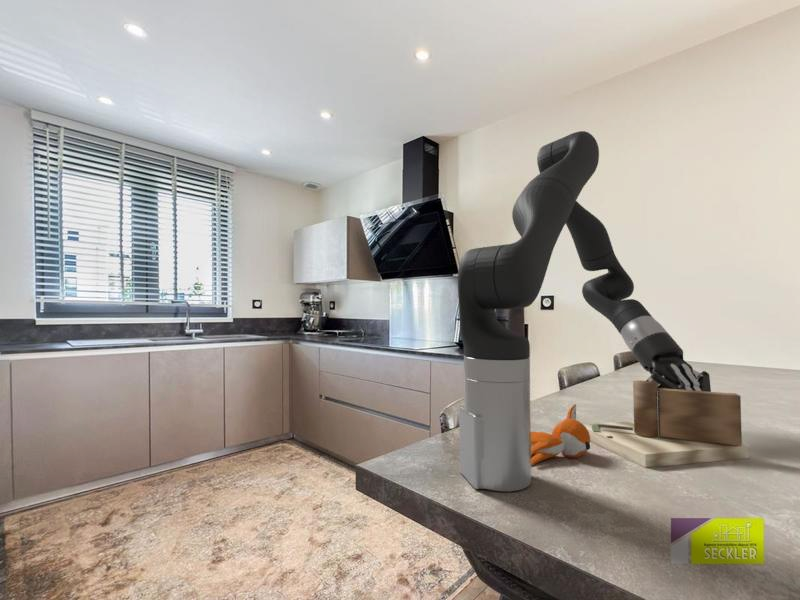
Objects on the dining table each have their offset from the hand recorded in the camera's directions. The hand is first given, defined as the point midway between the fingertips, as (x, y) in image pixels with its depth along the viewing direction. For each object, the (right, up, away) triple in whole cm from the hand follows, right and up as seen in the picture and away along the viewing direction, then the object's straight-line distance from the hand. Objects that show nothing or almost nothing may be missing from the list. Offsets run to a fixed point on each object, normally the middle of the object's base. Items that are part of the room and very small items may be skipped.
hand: (711, 420), depth 66 cm
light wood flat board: (-8, -5, +3) cm, 10 cm away
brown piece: (-7, -3, +1) cm, 8 cm away
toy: (-31, -6, +3) cm, 32 cm away
